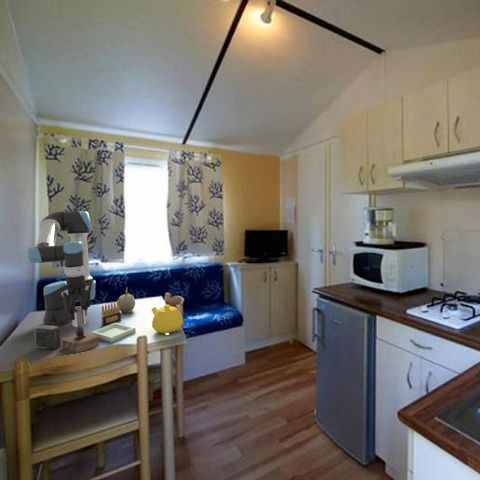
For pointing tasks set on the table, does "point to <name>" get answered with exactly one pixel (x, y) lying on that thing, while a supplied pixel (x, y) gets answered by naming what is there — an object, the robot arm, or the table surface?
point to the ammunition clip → (110, 314)
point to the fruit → (126, 302)
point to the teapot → (166, 319)
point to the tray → (113, 332)
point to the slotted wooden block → (80, 342)
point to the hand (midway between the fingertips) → (79, 324)
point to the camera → (47, 337)
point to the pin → (79, 322)
